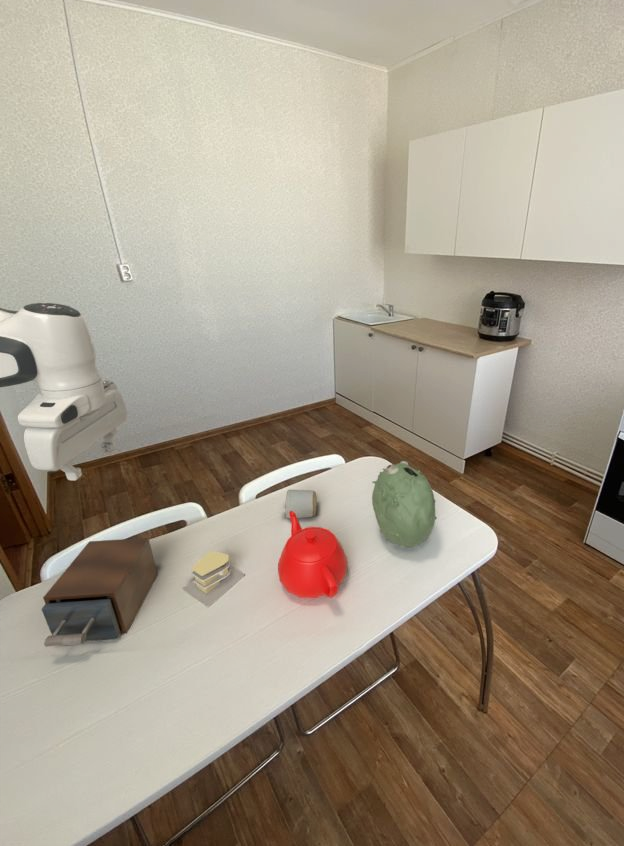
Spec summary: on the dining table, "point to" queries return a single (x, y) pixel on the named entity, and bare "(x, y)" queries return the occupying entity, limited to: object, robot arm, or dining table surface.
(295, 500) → the ceramic mug
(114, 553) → the cabinet
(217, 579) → the stacked layers on plate
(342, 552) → the teapot
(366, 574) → the dining table surface
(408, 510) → the green bumpy oval shape
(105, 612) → the dark grey drawer
